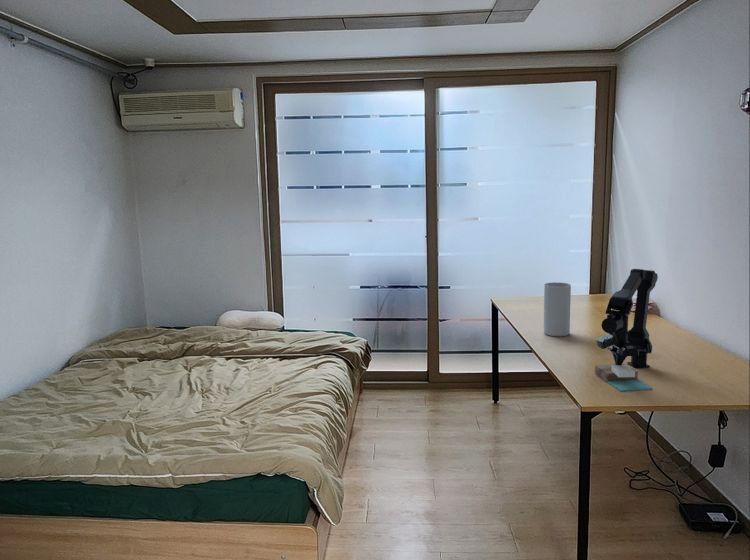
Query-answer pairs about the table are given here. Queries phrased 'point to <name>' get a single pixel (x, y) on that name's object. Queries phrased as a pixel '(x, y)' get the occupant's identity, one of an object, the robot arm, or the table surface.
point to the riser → (611, 373)
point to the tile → (623, 371)
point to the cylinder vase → (557, 309)
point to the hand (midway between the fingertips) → (618, 367)
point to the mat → (629, 385)
